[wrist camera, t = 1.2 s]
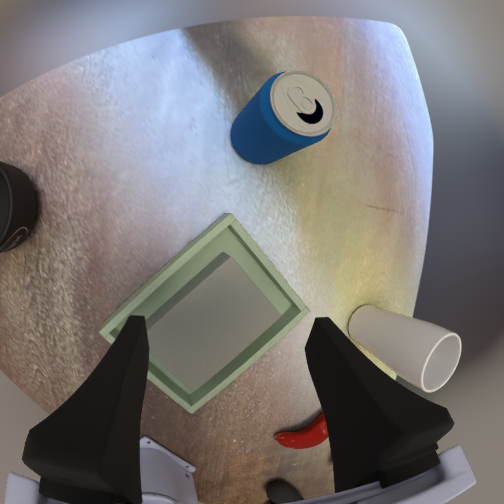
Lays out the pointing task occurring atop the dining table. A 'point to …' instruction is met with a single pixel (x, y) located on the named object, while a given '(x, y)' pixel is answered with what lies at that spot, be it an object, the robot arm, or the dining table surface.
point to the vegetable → (305, 435)
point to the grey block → (209, 322)
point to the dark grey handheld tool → (282, 493)
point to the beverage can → (284, 117)
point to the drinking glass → (407, 345)
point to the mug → (15, 206)
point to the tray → (180, 273)
